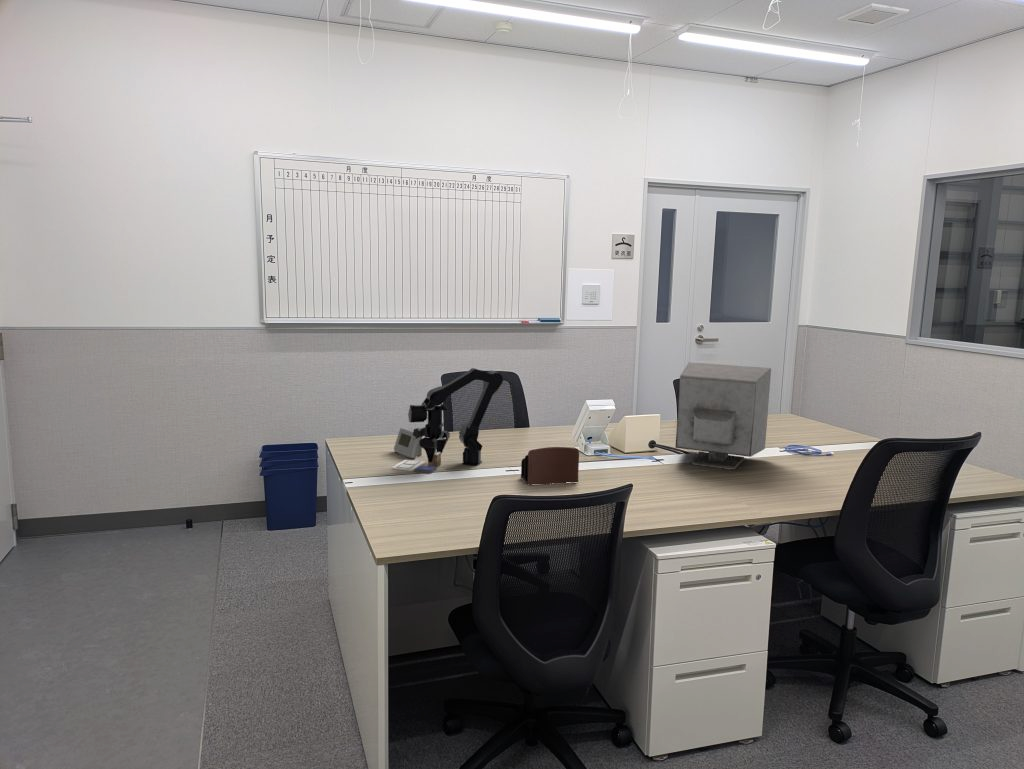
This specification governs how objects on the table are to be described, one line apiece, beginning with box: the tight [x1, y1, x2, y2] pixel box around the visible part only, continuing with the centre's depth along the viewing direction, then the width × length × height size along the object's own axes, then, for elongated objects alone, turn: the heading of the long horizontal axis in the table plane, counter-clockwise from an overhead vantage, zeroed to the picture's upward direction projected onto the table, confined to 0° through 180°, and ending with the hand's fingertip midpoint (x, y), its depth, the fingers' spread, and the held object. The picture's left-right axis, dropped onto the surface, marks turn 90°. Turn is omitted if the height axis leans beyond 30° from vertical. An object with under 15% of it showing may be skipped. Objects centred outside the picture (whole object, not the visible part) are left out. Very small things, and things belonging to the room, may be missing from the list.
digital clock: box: [393, 426, 423, 459], centre depth 312 cm, size 16×9×11 cm, turn 27°
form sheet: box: [391, 459, 426, 472], centre depth 295 cm, size 9×13×1 cm
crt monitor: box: [675, 361, 772, 470], centre depth 308 cm, size 35×37×40 cm
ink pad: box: [414, 464, 438, 475], centre depth 288 cm, size 7×6×1 cm
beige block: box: [427, 451, 442, 469], centre depth 295 cm, size 4×4×6 cm
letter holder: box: [520, 446, 580, 485], centre depth 278 cm, size 10×20×14 cm, turn 104°
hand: (434, 459), depth 295 cm, fingers open, 9 cm apart
